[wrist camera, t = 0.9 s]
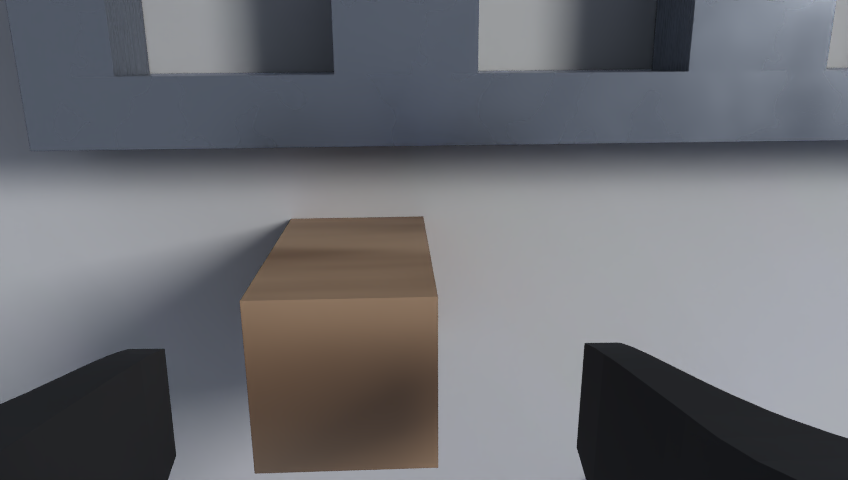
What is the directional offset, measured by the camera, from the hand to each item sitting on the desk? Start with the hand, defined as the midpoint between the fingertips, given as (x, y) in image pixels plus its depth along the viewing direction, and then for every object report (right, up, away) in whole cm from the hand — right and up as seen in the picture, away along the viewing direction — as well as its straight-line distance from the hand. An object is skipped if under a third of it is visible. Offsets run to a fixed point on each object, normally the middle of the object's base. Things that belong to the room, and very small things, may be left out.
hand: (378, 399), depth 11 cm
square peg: (-1, +1, +9) cm, 10 cm away
